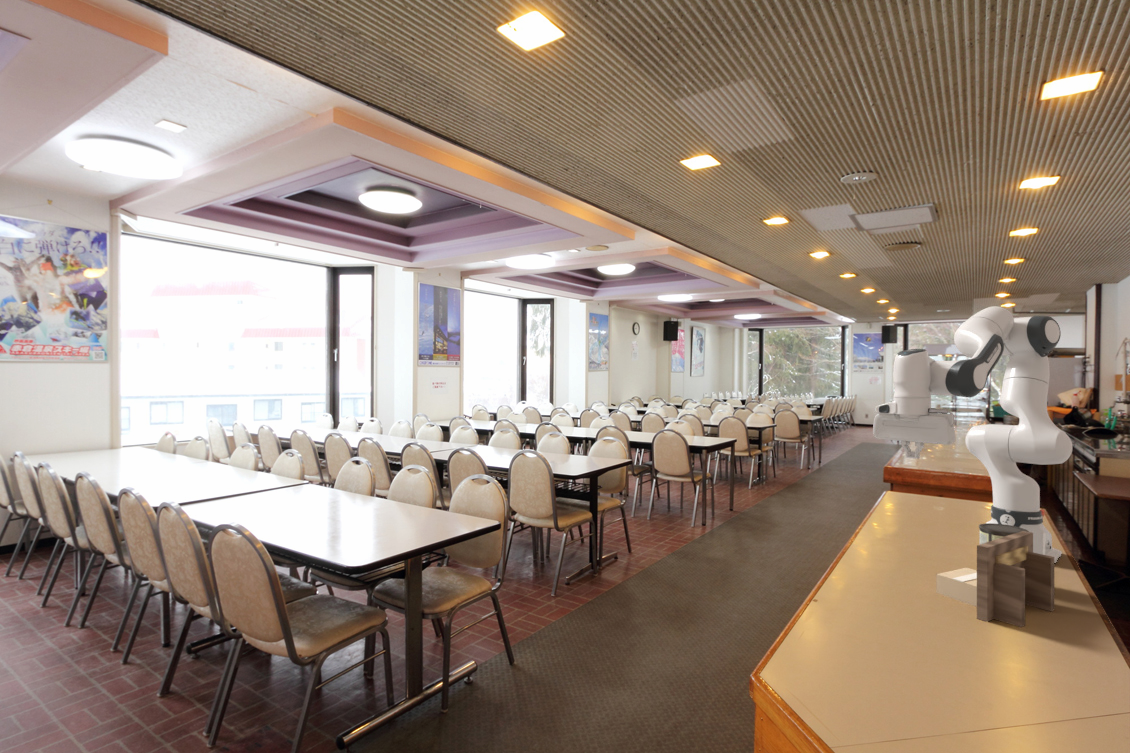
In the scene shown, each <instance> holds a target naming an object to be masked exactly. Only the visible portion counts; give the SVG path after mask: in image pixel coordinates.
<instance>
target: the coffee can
mask: <svg viewBox="0 0 1130 753" xmlns="http://www.w3.org/2000/svg"><path fill="white" fill-rule="evenodd" d="M978 528H979V545H980V544H983V543H986V542H989V541H993V540H996V539H999V538H1002V537H1005V536H1008V535H1011V534H1014V533H1017V532H1021V531H1027V532H1029V531H1028V530H1026V529H1023V528H1020V527H1016V526H1011V525H1004V524H992V523H987V522H985V523H979V525H978Z"/></svg>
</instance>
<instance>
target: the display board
mask: <svg viewBox="0 0 1130 753" xmlns="http://www.w3.org/2000/svg"><path fill="white" fill-rule="evenodd" d="M976 570H977V607H976V619H978V620H981V621H984V622H986V623H987V622H990V621H991V620H996V621H1000V622H1003V623H1006V624H1010V625H1011V626H1012V625H1013V626H1017V627H1020V628H1022V627H1024V626H1026V605H1027V606H1031V607H1035V608H1038V609H1041V610H1045V611H1049V612H1053V611H1055V564H1054V557H1052V556H1047V555H1043V554H1038V553H1033V533H1032V532H1027V531H1021V532H1017V533H1014V534H1011V535H1008V536H1005V537H1002V538H999V539H996V540H993V541H989V542H986V543H983V544H980V543H979V544H978V545H976Z"/></svg>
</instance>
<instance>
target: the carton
mask: <svg viewBox="0 0 1130 753" xmlns="http://www.w3.org/2000/svg"><path fill="white" fill-rule="evenodd" d="M935 576H936V581H935V582H936V586H935V587H936V594H937V593H939V594H938V595H940V594H942V595H941V596H943V595H944V596H943V597H946V596H947V598H949V597H950V599H952V598H953V599H952V600H955V601H958V602H961V603H964V604H967V605H969V606H974V607H976V608H977V569H974V568H969V567H963V568H958V569H955V570H948V571H944V572H940V573H936V574H935Z"/></svg>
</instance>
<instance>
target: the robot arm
mask: <svg viewBox="0 0 1130 753" xmlns="http://www.w3.org/2000/svg"><path fill="white" fill-rule="evenodd" d="M1060 340H1061V328H1060V324H1059V323H1058V322H1057V321H1056V320H1055V318H1053V317H1051V316H1049V315H1034V316H1033V315H1032V316H1026V317H1024V316H1023V317H1015V318H1014V315H1013V314H1012V313H1011V311H1010V310H1008V309H1007V308H1006V307H1001V306H998V305H997V306H995V305H994V306H993V305H992V306H988V307H986V308H984V309H982V310H979V311H978V312H976V313H974V314H972V315H971V316H970V317H969V318H968V319H966V320H965V321H964V322H963V323H961V324H960V326H959V327H957V328H956V331H955V333H954V334H953V342H954V345H955V347H956V349H957V350H958V351H959V353H960V354H962V355H964V356H966V357H967V358H968V359H960V360H959V359H957V360H936V359H933V358H931V357H930V356H929V353H928V351H927V349H926V348H925V349H924V348H911V349H905V350H904V349H903V350H901V351H899V352H896V355H895V357H894V360H893V361H894V363H893V369H892V370H893V371H892V373H893V374H892V375H893V376H892V377H893V378H892V379H893V380H892V381H893V385H894V393H893V401H889V402H886V403H883V404H880V405H876V406H875V410H874V411H875V412H876V415H875V416H874V419H873V426H872V434H873V437H874V438H875V439H879V440H888V441H899V442H900V446H901V447H902V449H903V450H904V452H905V458H907V459H908V458H909V459H916V460H918V459H920V458H921V451H922V450H923V448H925V444H935V445H944V446H945V445H946V446H948V445H953V444H955V442H956V430H955V425H954V424H955V414H954V413H953V412H951V411H949V409H946V408H945V409H944V408H943V409H938V408H932V396H951V397H952V396H954V397H955V396H956V397H962V398H963V397H964V398H974V397H975V396H977V395H979V394H980V393H981V392H982V391H983V390H984V389H985V386H986V384H987V381H988V377H989V376H990V375H991V373H992V371H993V370H994V368H996V367H995V366H996V365H997V364H998V363H999V361H1000V359H1001V358H1002V356H1003V357H1005V356H1008V363H1007V365H1006V367H1005V371H1004V375H1003V380H1002V385H1001V391H1000V398H999V405H1000V406H1001V408H1002V409H1003V411H1004V412H1007V413H1008V414H1010V415H1011V416H1013V417H1016V418H1018V419H1019V421H1018V424H1017V425H1015V424H1013V425H1012V424H998V423H997V424H996V423H990V424H989V423H987V424H981V425H980V424H979V425H978V424H977V425H974V426H972V427H971V428H970V429H969V430H968V431H967V433H966V434H965V437H964V438H965V440H964V442H965V447H966V449H967V450H968V451H969V453H970V454H971V455H972V456H974V457H975V458H976V459H978V460H979V461H980V463H981V464H982V465H983V466H984V468H985V469H986V470H987V472H988V475H989V477H990V478H989V479H990V481H991V487H992V488H991V489H992V505H991V507H990V516H991V519H990V520H988V521H987V522H986V523H992V524H1004V525H1011V526H1016V527H1020V528H1023V529H1026V530H1028V531H1029V532H1032V533H1033V553H1038V554H1043V555H1047V556H1052V557H1054V563H1056V562H1058V561H1059V560H1058V558H1059V557H1060V558H1061V556H1062V555H1063V553H1062V552H1063V551H1062V550H1060V549H1057V548H1054V547H1053V540H1052V539H1053V538H1052V537H1053V536H1052V534H1051V532H1049V530H1048V529H1047V527H1045V525H1044V524H1043V523H1044V521H1043V520H1044V519H1043V517H1044V516H1045V510H1044V509H1040V506H1041V502H1040V501H1041V496H1040V495H1041V494H1040V493H1041V492H1040V491H1041V488H1040V485H1039V484H1038V482H1037V481H1036V480H1035V479H1034V478H1032V477H1030V476H1029V475H1026V474H1025V473H1023V472H1022V471H1021V470H1020V469H1019V467H1018V466H1017V463H1023V464H1031V465H1032V464H1033V465H1045V466H1046V465H1059V464H1064V463H1065V462H1066V461H1067V460H1069V458H1070V457H1071V455H1072V453H1073V443H1072V440H1071V438H1070V437H1069V435H1068V434H1067V433H1066V432H1065V431H1064V430H1062V429H1060V428H1059V427H1058V426H1057V425H1056V424H1055V423H1054V422H1053V421H1052V419H1051V418H1050V415H1049V412H1048V393H1049V386H1050V378H1051V376H1050V375H1051V374H1050V373H1051V372H1050V371H1051V370H1050V369H1051V368H1050V360H1049V357H1048V356H1049V355H1050V354H1051V353H1052V352H1053V350H1054V349H1055V348H1056V347H1057V345H1058V344H1059V341H1060ZM911 443H914V446H915V450H912V449H911V446H910V445H911ZM1061 554H1062V555H1061ZM1060 558H1059V559H1060ZM1057 560H1058V561H1057ZM1056 564H1057V563H1056Z"/></svg>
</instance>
